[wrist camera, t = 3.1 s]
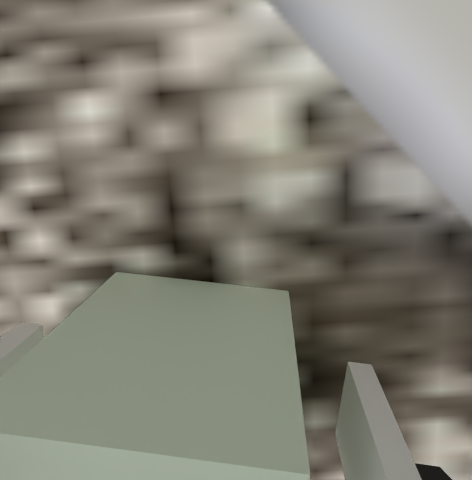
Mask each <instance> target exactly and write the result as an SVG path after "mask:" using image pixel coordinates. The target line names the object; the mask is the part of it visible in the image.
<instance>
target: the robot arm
mask: <svg viewBox="0 0 472 480" xmlns="http://www.w3.org/2000/svg"><path fill="white" fill-rule="evenodd" d="M42 339H43V333H42V325H39V324H30V323H22V322H20V323H19V324H17V325H16V326H15V327H13V328H12V329H11V330H10V331H8V332H7V333H6V334H4V335H3V336H2V337H0V377H2V376H3V375H4V374H5V373H6V372H7V371H8V370H9V369H10V368H11V367H13V366H14V365H15V364H16V363H17V362H18V361H19V360H20V359H21V358H22V357H24V356H25V355H26V354H27V353H28V352H29V351H30V350H31V349H32V348H33V347H35V346H36V345H37V344H38V343H39V342H40V341H41V340H42ZM335 435H336V440H337V444H338V449H339V454H340V458H341V463H342V468H343V472H344V477H345V480H452V479H451V478H450V477H449V476H448V475H447V474H446V473H445V472H444V471H443V470H442V469H441V468H440V467H437V466H429V465H422V464H415V463H414V461H413V458H412V456H411V454H410V452H409V449H408V447H407V445H406V442H405V440H404V438H403V435H402V433H401V431H400V429H399V426H398V424H397V422H396V419H395V417H394V415H393V412H392V410H391V408H390V406H389V403H388V401H387V399H386V396H385V394H384V392H383V389H382V387H381V385H380V383H379V380H378V378H377V376H376V373H375V371H374V369H373V367H372V364H363V363H355V362H348V363H347V369H346V375H345V380H344V386H343V392H342V397H341V403H340V409H339V415H338V420H337V426H336V432H335Z"/></svg>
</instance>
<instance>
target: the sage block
mask: <svg viewBox="0 0 472 480" xmlns="http://www.w3.org/2000/svg"><path fill="white" fill-rule="evenodd" d="M0 480H310V468H309V460H308V451H307V443H306V434H305V426H304V417H303V409H302V400H301V392H300V383H299V375H298V366H297V358H296V349H295V341H294V332H293V324H292V315H291V307H290V298H289V291H285V290H276V289H267V288H258V287H249V286H240V285H231V284H222V283H213V282H204V281H195V280H186V279H177V278H168V277H159V276H150V275H141V274H132V273H123V272H116V273H115V274H114V275H113V276H111V277H110V278H109V279H108V280H107V281H106V282H105V283H104V284H103V285H102V286H100V287H99V288H98V289H97V290H96V291H95V292H94V293H93V294H92V295H91V296H89V297H88V298H87V299H86V300H85V301H84V302H83V303H82V304H81V305H80V306H78V307H77V308H76V309H75V310H74V311H73V312H72V313H71V314H70V315H69V316H67V317H66V318H65V319H64V320H63V321H62V322H61V323H60V324H59V325H58V326H57V327H55V328H54V329H53V330H52V331H51V332H50V333H49V334H48V335H47V336H46V337H44V338H43V339H42V340H41V341H40V342H39V343H38V344H37V345H36V346H35V347H33V348H32V349H31V350H30V351H29V352H28V353H27V354H26V355H25V356H24V357H22V358H21V359H20V360H19V361H18V362H17V363H16V364H15V365H14V366H13V367H11V368H10V369H9V370H8V371H7V372H6V373H5V374H4V375H3V376H2V377H0Z"/></svg>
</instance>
